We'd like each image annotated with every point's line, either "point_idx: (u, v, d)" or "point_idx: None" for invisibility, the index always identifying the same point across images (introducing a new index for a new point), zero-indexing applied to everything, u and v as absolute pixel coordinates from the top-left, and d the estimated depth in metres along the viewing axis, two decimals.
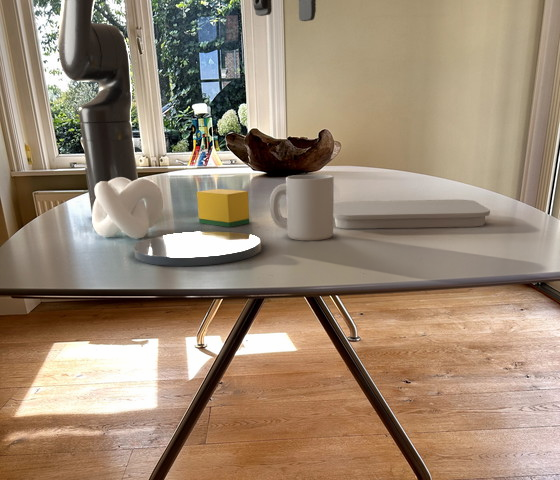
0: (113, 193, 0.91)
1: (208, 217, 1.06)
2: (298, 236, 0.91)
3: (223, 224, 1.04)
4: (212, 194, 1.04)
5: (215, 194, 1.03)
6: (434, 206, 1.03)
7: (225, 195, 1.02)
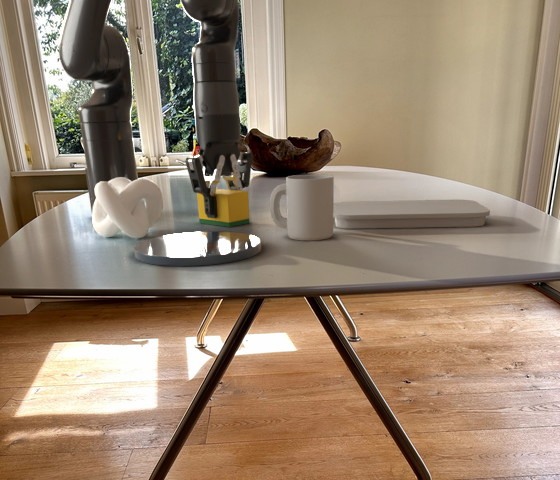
0: (113, 193, 0.91)
1: None
2: (298, 236, 0.91)
3: (223, 224, 1.04)
4: None
5: (215, 194, 1.03)
6: (434, 206, 1.03)
7: (225, 195, 1.02)
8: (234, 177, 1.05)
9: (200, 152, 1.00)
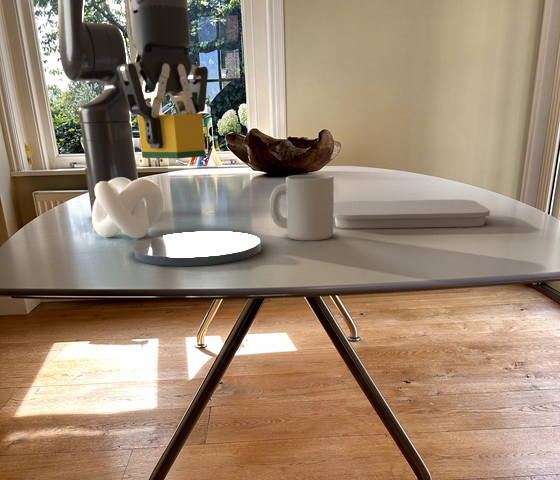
0: (113, 193, 0.91)
1: (152, 148, 0.83)
2: (298, 236, 0.91)
3: (170, 155, 0.81)
4: None
5: (159, 116, 0.80)
6: (434, 206, 1.03)
7: (171, 116, 0.79)
8: (184, 96, 0.82)
9: (137, 59, 0.78)
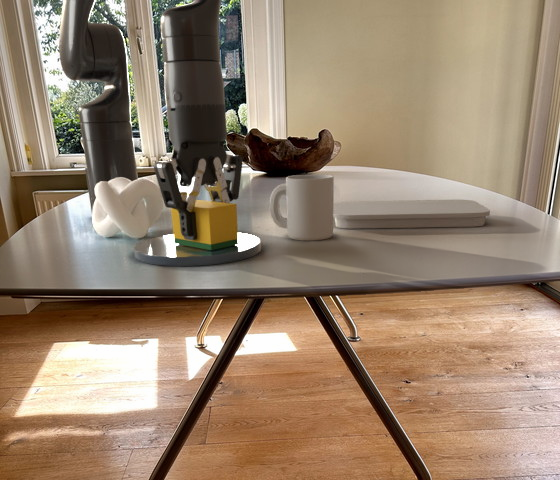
0: (113, 193, 0.91)
1: None
2: (298, 236, 0.91)
3: (204, 246, 0.80)
4: None
5: None
6: (434, 206, 1.03)
7: (206, 209, 0.78)
8: (219, 187, 0.81)
9: (173, 155, 0.77)
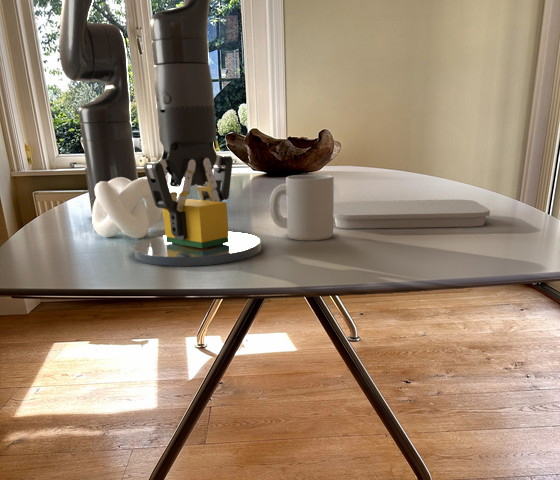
0: (113, 193, 0.91)
1: None
2: (298, 236, 0.91)
3: (195, 244, 0.81)
4: None
5: None
6: (434, 206, 1.03)
7: (196, 208, 0.79)
8: (209, 187, 0.82)
9: (163, 156, 0.78)
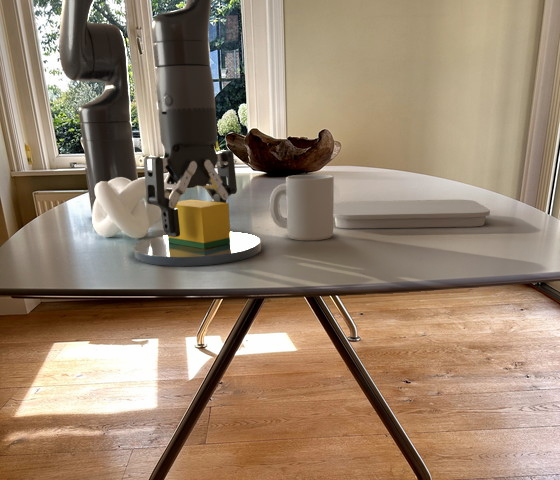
0: (113, 193, 0.91)
1: (178, 236, 0.84)
2: (298, 236, 0.91)
3: (197, 245, 0.82)
4: (182, 207, 0.81)
5: (186, 207, 0.81)
6: (434, 206, 1.03)
7: (198, 208, 0.79)
8: (215, 186, 0.83)
9: (166, 155, 0.78)
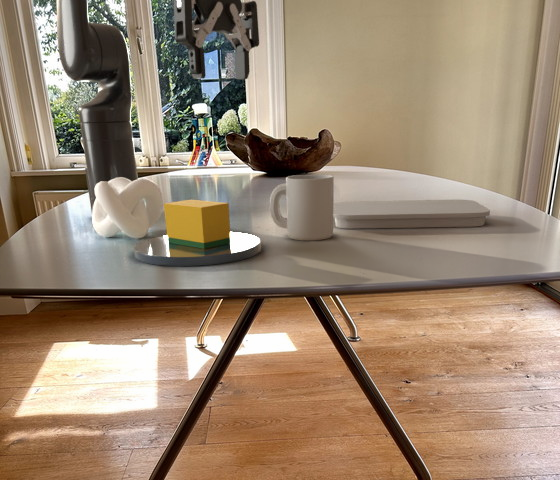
0: (113, 193, 0.91)
1: (178, 236, 0.84)
2: (298, 236, 0.91)
3: (197, 245, 0.82)
4: (182, 207, 0.81)
5: (186, 207, 0.81)
6: (434, 206, 1.03)
7: (198, 208, 0.79)
8: (239, 33, 0.87)
9: None
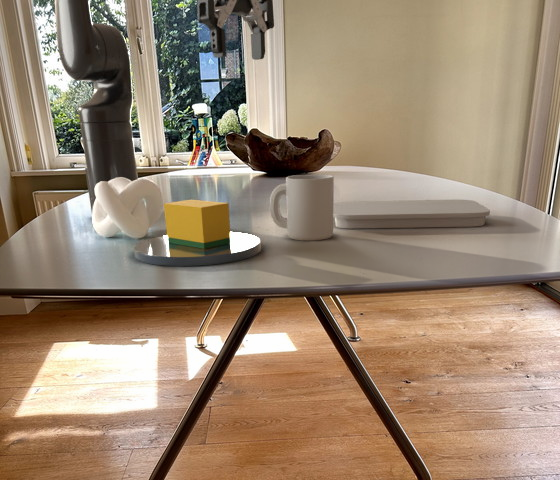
0: (113, 193, 0.91)
1: (178, 236, 0.84)
2: (298, 236, 0.91)
3: (197, 245, 0.82)
4: (182, 207, 0.81)
5: (186, 207, 0.81)
6: (434, 206, 1.03)
7: (198, 208, 0.79)
8: (256, 15, 0.93)
9: None
